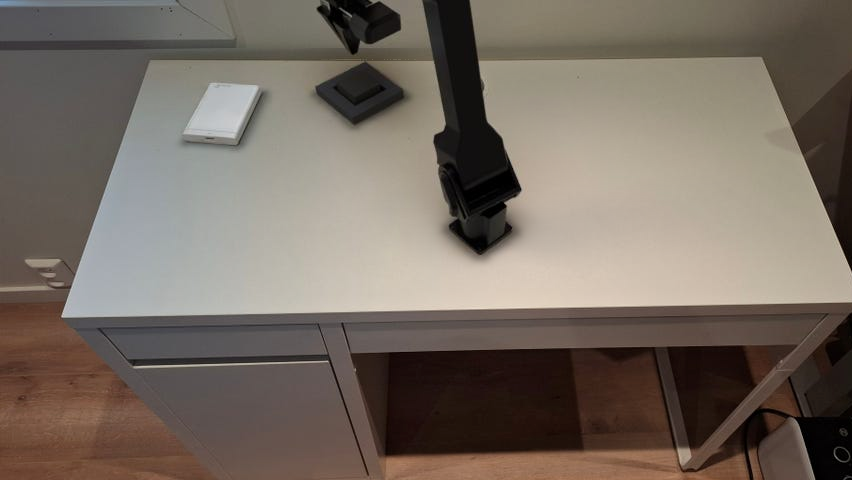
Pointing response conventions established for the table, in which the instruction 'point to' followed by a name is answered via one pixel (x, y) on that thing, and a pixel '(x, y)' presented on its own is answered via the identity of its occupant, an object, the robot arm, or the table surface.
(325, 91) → the dark grey square frame
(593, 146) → the table surface
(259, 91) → the hard drive
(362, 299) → the table surface
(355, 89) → the black block
